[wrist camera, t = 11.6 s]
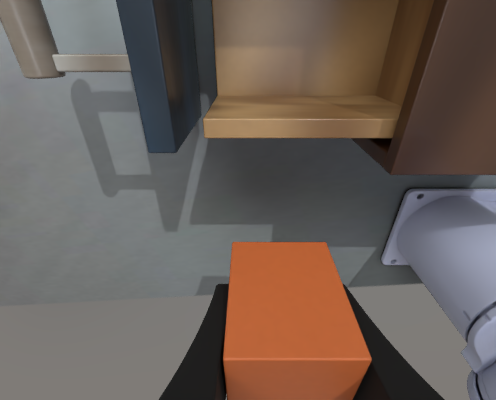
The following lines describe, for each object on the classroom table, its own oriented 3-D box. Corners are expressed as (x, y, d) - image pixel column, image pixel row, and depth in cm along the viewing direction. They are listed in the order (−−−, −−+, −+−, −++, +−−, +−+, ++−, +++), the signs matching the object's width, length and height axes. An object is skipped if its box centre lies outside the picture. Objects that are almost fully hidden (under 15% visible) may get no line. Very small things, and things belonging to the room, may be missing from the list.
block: (326, 241, 11) (373, 360, 7) (313, 301, 14) (343, 420, 9) (232, 241, 11) (222, 360, 7) (234, 301, 14) (228, 420, 9)
